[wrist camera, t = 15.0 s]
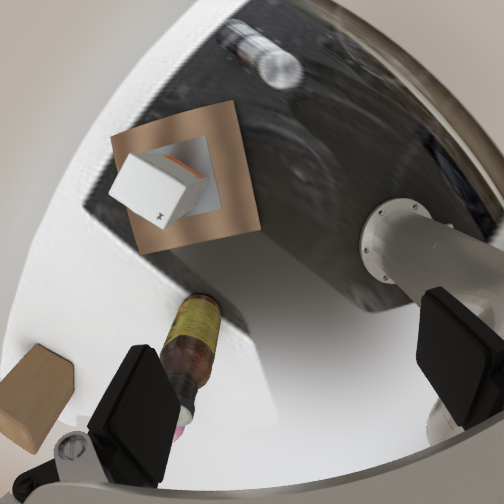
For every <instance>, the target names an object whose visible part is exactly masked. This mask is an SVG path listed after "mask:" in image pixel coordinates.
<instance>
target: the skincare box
mask: <svg viewBox="0 0 504 504" xmlns="http://www.w3.org/2000/svg"><path fill="white" fill-rule="evenodd" d="M208 182H209V178H207V177H205V176H203V175H202V174H200V173H198V172H197V171H195V170H193V169H192V168H190V167H188V166H187V165H185V164H183V163H182V162H180V161H179V160H177V159H176V158H174V157H172V156H171V155H164V154H145V153H129V155H128V157H127V158H126V160H125V162H124V164H123V166H122V168H121V169H120V171H119V173H118V175H117V177H116V179H115V181H114V183H113V185H112V187H111V189H110V191H109V195H110V196H112V197H113V198H115V199H116V200H118V201H119V202H121V203H122V204H124V205H125V206H127V207H128V208H129V209H130V210H132V211H133V212H135V213H136V214H138V215H140V216H142V217H143V218H145V219H147V220H148V221H150V222H151V223H153V224H155V225H156V226H158V227H159V228H161V229H163V230H164V229H165V228H167V227H168V226H169V225H171V224H172V223H173V222H174V221H176V220H177V219H178V218H180V217H181V216H182V215H184V214H185V213H186V212H188V211H189V210H191V209H192V208H193V206H194V205H195V203H196V201H197V200H198V198H199V197H200V195H201V193H202V191H203V190H204V188H205V186H206V185H207V183H208Z"/></svg>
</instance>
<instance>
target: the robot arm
mask: <svg viewBox="0 0 504 504" xmlns="http://www.w3.org/2000/svg"><path fill="white" fill-rule="evenodd" d="M413 205H414V206H413ZM379 211H381V212H380V213H379ZM365 248H366V249H365ZM364 249H365V250H364ZM359 252H360V256H361V260H362V262H363V264H364V266H365V268H366V269H367V271H368V272H369V273H370V274H371V275H372V276H373V277H374V278H376V279H377V280H379V281H381V282H383V283H388V284H397V285H398V286H399V287H400V288H401V289H402V290H403V291H404V292H405V293H406V294H407V295H408V296H409V297H410V298H411V299H412V300H413V301H414V302H415V303H416V304H417V305H418V306H419V307H420V322H419V333H418V343H417V351H416V360H417V364H418V366H419V367H420V368H421V370H422V372H423V373H424V375H425V376H426V378H427V379H428V381H429V382H430V384H431V385H432V387H433V388H434V390H435V391H436V393H437V394H438V396H439V398H438V400H437V401H436V403H435V404H434V406H433V408H432V410H431V412H430V415H429V417H428V421H427V427H426V429H427V430H426V432H427V438H428V441H429V443H430V445H431V447H429V448H427V449H424V450H422V451H419V452H417V453H414V454H412V455H409V456H406V457H403V458H401V459H398V460H395V461H392V462H389V463H386V464H382V465H379V466H376V467H372V468H369V469H366V470H362V471H359V472H355V473H351V474H346V475H342V476H338V477H333V478H329V479H324V480H319V481H313V482H308V483H302V484H295V485H289V486H281V487H272V488H262V489H250V490H231V491H190V490H171V489H157V487H158V483H161V482H162V481H163V478H164V474H165V469H166V465H167V462H168V457H169V453H170V450H171V446H172V442H173V438H174V434H175V430H176V426H177V422H178V419H179V415H180V411H181V404H180V401H179V399H178V397H177V395H176V393H175V391H174V389H173V387H172V385H171V383H170V381H169V378H168V376H167V374H166V372H165V370H164V368H163V366H162V364H161V361H160V359H159V357H158V355H157V353H156V351H155V349H154V348H151V347H150V346H149V345H147V344H144V345H134V346H132V347H131V348H130V350H129V351H128V353H127V355H126V357H125V358H124V360H123V362H122V363H121V365H120V367H119V369H118V370H117V372H116V374H115V376H114V377H113V379H112V381H111V383H110V384H109V386H108V388H107V390H106V392H105V393H104V395H103V397H102V399H101V401H100V402H99V404H98V406H97V408H96V410H95V412H94V413H93V415H92V417H91V419H90V421H89V423H88V425H87V427H88V429H89V432H88V434H86V433H84V432H81V431H73V432H70V433H68V434H65V435H64V436H62V437H61V438H60V439H59V440H58V442H57V443H56V445H55V448H54V457H55V458H54V459H52V460H50V461H48V462H46V463H44V464H42V465H40V466H37V467H35V468H33V469H31V470H29V471H27V472H24V473H22V474H21V475H19V476H18V477H17V478H16V480H15V481H14V483H13V487H12V491H13V494H12V493H10V492H8V493H7V494H5V495H4V496H3V497H2V498H1V499H0V504H504V251H502V250H500V249H497V248H495V247H493V246H490V245H488V244H486V243H484V242H482V241H480V240H477V239H475V238H473V237H471V236H469V235H467V234H465V233H462V232H460V231H458V230H456V229H453V225H452V224H451V223H448V224H442V223H440V222H437V221H435V220H433V219H432V217H431V215H430V213H429V212H428V211H427V209H426V208H425V207H424V206H423V205H421V204H420V203H419V202H416V201H414V200H412V199H408V198H393V199H390V200H387V201H385V202H383V203H381V204H380V205H378V206H377V207H376V208H375V209H374V210H373V211H372V212H371V213H370V215H369V216H368V217H367V219H366V221H365V223H364V225H363V227H362V230H361V234H360V240H359Z"/></svg>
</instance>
